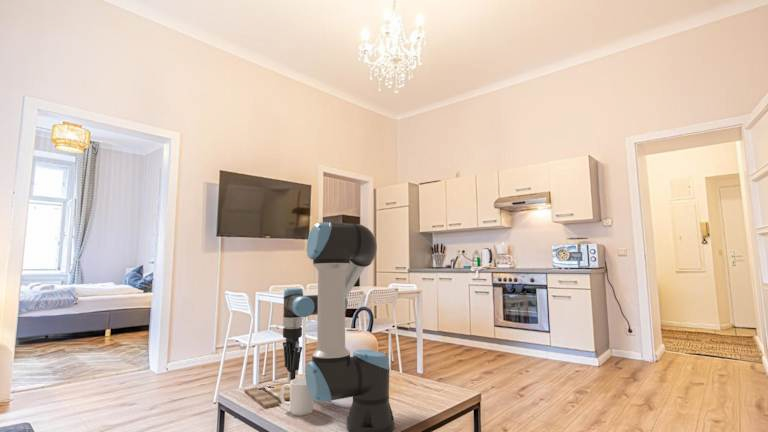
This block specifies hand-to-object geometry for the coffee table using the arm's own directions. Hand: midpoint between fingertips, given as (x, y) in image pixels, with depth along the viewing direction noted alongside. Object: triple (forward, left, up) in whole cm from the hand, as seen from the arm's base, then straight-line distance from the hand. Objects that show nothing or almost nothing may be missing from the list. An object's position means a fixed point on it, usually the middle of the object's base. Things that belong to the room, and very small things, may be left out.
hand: (291, 387), depth 157 cm
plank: (0, +4, -2) cm, 4 cm away
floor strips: (0, +12, -2) cm, 12 cm away
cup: (-19, +7, -2) cm, 21 cm away
